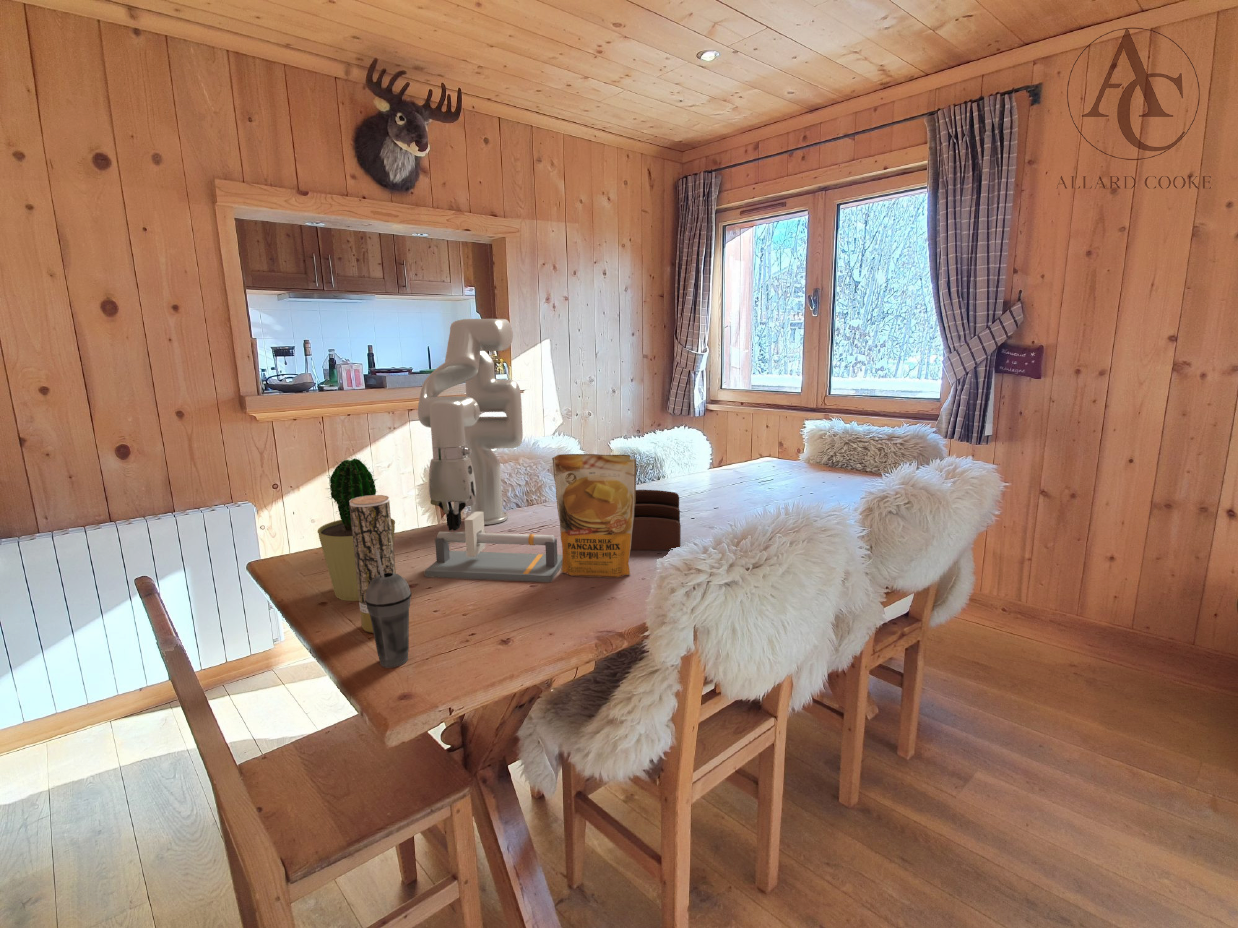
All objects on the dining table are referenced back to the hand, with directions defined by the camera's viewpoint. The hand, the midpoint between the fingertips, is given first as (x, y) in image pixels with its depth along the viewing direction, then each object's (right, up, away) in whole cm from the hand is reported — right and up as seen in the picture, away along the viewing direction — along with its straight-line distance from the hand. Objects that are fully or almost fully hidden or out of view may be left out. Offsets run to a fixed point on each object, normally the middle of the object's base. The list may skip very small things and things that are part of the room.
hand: (454, 528), depth 145 cm
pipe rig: (+10, -10, 0) cm, 14 cm away
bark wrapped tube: (-6, -16, -29) cm, 34 cm away
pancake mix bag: (+34, -10, -3) cm, 36 cm away
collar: (+5, -6, 0) cm, 8 cm away
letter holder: (+46, -6, +17) cm, 49 cm away
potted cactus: (-17, -12, -12) cm, 24 cm away
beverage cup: (+1, -18, -42) cm, 46 cm away
